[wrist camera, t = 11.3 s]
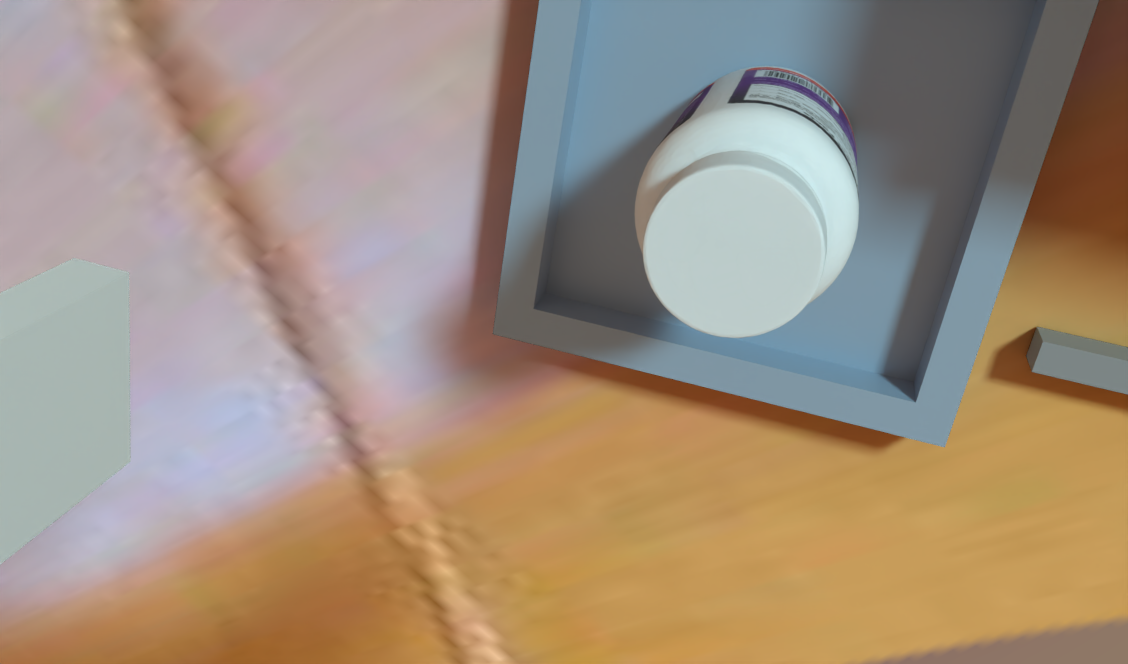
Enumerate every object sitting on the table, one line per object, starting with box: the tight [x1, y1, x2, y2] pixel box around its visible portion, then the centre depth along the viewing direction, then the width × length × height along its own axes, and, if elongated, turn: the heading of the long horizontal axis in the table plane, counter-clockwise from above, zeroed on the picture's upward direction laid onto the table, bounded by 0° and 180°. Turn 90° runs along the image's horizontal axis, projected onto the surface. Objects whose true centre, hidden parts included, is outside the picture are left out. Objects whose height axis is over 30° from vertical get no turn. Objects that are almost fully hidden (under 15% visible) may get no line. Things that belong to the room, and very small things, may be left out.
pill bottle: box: [635, 66, 859, 338], centre depth 28 cm, size 5×5×10 cm
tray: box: [493, 0, 1099, 447], centre depth 32 cm, size 14×14×2 cm
